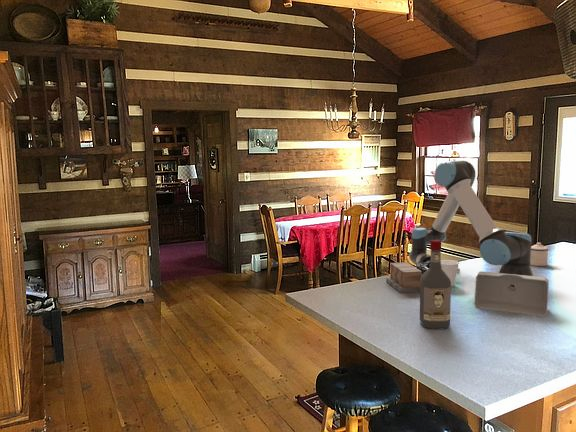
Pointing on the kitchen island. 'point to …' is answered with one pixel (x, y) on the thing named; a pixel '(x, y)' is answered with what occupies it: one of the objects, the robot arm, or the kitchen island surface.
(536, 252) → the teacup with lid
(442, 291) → the liquor
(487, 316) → the kitchen island surface
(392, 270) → the brown rectangular block
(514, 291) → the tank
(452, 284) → the cup
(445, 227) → the robot arm
